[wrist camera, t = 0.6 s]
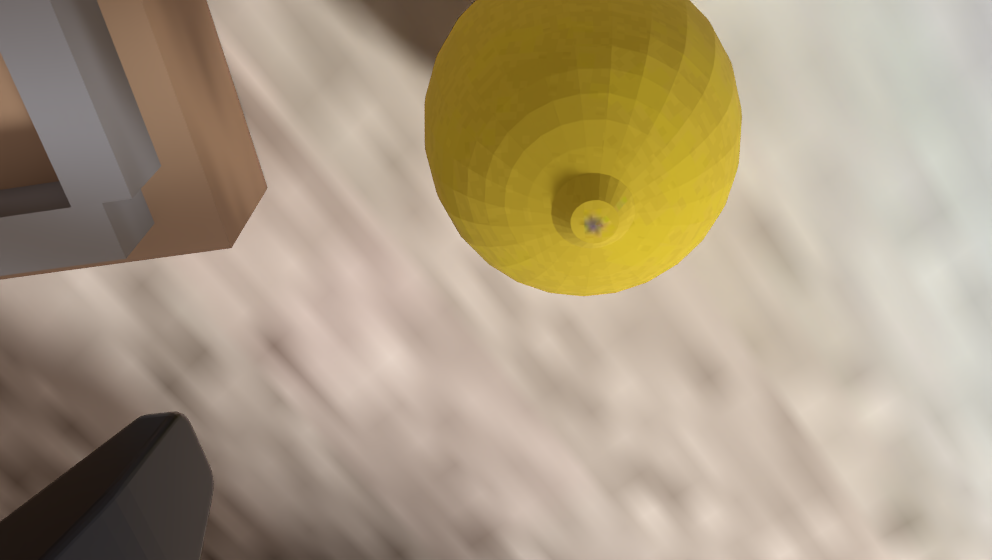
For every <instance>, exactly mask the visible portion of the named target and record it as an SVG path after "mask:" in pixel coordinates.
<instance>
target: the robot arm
mask: <svg viewBox="0 0 992 560" xmlns="http://www.w3.org/2000/svg"><path fill="white" fill-rule="evenodd" d="M212 496H213V475H212V471H211V468H210V465H209V463H208V461H207V458H206V456H205V454H204V452H203V450H202V447H201V445H200V443H199V441H198V438H197V436H196V434H195V432H194V430H193V427H192V425H191V423H190V421H189V420H188V418H187V417H186V416H185V415H184V414H182V413H179V412H166V413H157V414H148V415H143V416H141V417H139V418H137V419H136V420H135V421H133V422H132V423H131V424H129V425H128V426H127V427H125V428H124V429H123V430H121V431H120V432H119V433H117V434H116V435H115V436H113V437H112V438H111V439H109V440H108V441H107V442H105V443H104V444H103V445H101V446H100V447H99V448H98V449H96V450H95V451H94V452H92V453H91V454H90V455H88V456H87V457H86V458H84V459H83V460H82V461H80V462H79V463H78V464H76V465H75V466H74V467H72V468H71V469H70V470H68V471H67V472H66V473H64V474H63V475H62V476H60V477H59V478H58V479H56V480H55V481H54V482H52V483H51V484H50V485H48V486H47V487H46V488H44V489H43V490H42V491H40V492H39V493H38V494H36V495H35V496H34V497H32V498H31V499H30V500H28V501H27V502H26V503H25V504H23V505H22V506H21V507H19V508H18V509H17V510H15V511H14V512H13V513H11V514H10V515H9V516H7V517H6V518H5V519H3V520H2V521H1V522H0V560H200V558H201V553H202V547H203V542H204V537H205V532H206V527H207V521H208V516H209V511H210V506H211V501H212Z"/></svg>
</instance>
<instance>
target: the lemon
mask: <svg viewBox="0 0 992 560" xmlns="http://www.w3.org/2000/svg"><path fill="white" fill-rule="evenodd" d="M741 121H742V114H741V106H740V101H739V96H738V91H737V86H736V81H735V77H734V72H733V68H732V64H731V61H730V59H729V57H728V55H727V53H726V52H725V50H724V48H723V46H722V44H721V42H720V40H719V39H718V37H717V35H716V33H715V31H714V29H713V27H712V25H711V24H710V22H709V20H708V19H707V18H706V17H705V16H704V15H703V14H702V13H701V12H700V11H699V10H698V9H697V8H696V7H695V6H694V5H693V4H692V3H691V1H690V0H476V1H475V2H474V3H473V4H472V5H471V6H470V7H469V8H468V9H467V10H466V11H465V12H464V13H463V14H462V15H461V16H460V17H459V18H458V20H457V22H456V23H455V25H454V27H453V28H452V30H451V32H450V34H449V35H448V37H447V39H446V40H445V42H444V44H443V46H442V47H441V49H440V51H439V53H438V55H437V57H436V60H435V64H434V67H433V71H432V75H431V78H430V82H429V86H428V90H427V93H426V97H425V150H426V154H427V158H428V162H429V166H430V169H431V173H432V177H433V181H434V184H435V188H436V192H437V194H438V197H439V199H440V201H441V203H442V205H443V206H444V208H445V210H446V212H447V213H448V215H449V217H450V218H451V220H452V222H453V224H454V225H455V227H456V229H457V231H458V232H459V234H460V235H461V237H462V238H463V239H464V240H465V241H466V242H467V243H468V244H469V245H470V246H471V247H472V248H473V249H474V250H475V251H476V252H477V253H478V254H479V255H480V256H481V257H482V258H483V259H484V260H485V261H486V262H487V263H488V264H489V265H491V266H493V267H494V268H496V269H497V270H499V271H501V272H502V273H504V274H506V275H507V276H509V277H510V278H512V279H514V280H515V281H517V282H519V283H522V284H525V285H528V286H531V287H534V288H537V289H540V290H543V291H546V292H549V293H557V294H567V295H577V296H590V295H599V294H608V293H616V292H619V291H622V290H625V289H628V288H631V287H634V286H637V285H640V284H643V283H646V282H648V281H650V280H652V279H653V278H655V277H657V276H658V275H660V274H662V273H663V272H665V271H667V270H668V269H670V268H672V267H673V266H675V265H677V264H678V263H679V262H680V261H681V260H682V259H683V258H684V257H685V256H687V255H688V254H689V253H690V252H691V251H692V250H693V249H694V248H695V247H696V246H697V245H698V244H699V243H700V242H701V241H702V240H703V239H704V237H705V236H706V234H707V233H708V231H709V230H710V228H711V227H712V225H713V224H714V222H715V221H716V219H717V218H718V216H719V214H720V213H721V211H722V210H723V208H724V206H725V204H726V201H727V198H728V195H729V192H730V189H731V187H732V184H733V181H734V178H735V175H736V172H737V168H738V164H739V152H740V137H741Z"/></svg>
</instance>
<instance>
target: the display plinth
mask: <svg viewBox="0 0 992 560" xmlns="http://www.w3.org/2000/svg"><path fill="white" fill-rule="evenodd" d="M266 190H267V185H266V182H265V179H264V176H263V173H262V169H261V166H260V163H259V160H258V157H257V154H256V151H255V148H254V145H253V142H252V139H251V136H250V133H249V130H248V127H247V124H246V120H245V117H244V114H243V111H242V108H241V105H240V102H239V99H238V96H237V93H236V90H235V87H234V84H233V81H232V78H231V75H230V71H229V68H228V65H227V62H226V59H225V56H224V53H223V50H222V47H221V44H220V41H219V38H218V35H217V32H216V29H215V26H214V22H213V19H212V16H211V13H210V10H209V7H208V4H207V1H206V0H0V279H7V278H14V277H22V276H29V275H36V274H44V273H51V272H58V271H66V270H73V269H80V268H88V267H95V266H103V265H110V264H117V263H125V262H132V261H139V260H147V259H154V258H161V257H169V256H176V255H183V254H191V253H198V252H205V251H213V250H220V249H227V248H232V246H233V244H234V243H235V241H236V239H237V238H238V236H239V234H240V233H241V231H242V229H243V228H244V226H245V224H246V223H247V221H248V219H249V218H250V216H251V214H252V213H253V211H254V209H255V208H256V206H257V205H258V203H259V201H260V200H261V198H262V196H263V195H264V193H265V191H266Z"/></svg>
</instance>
